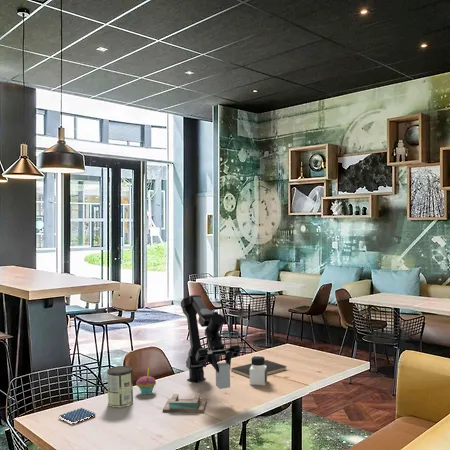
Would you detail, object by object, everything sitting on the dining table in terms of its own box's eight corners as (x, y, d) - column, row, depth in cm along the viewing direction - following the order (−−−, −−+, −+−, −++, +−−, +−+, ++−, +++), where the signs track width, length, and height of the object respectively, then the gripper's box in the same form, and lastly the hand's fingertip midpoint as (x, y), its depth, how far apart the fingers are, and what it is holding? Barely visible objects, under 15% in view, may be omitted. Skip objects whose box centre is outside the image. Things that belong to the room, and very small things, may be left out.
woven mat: (57, 420, 184) (57, 415, 184) (81, 411, 192) (81, 406, 192) (72, 427, 177) (72, 421, 177) (96, 418, 185) (96, 412, 185)
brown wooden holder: (168, 401, 201) (168, 392, 201) (206, 401, 200) (206, 392, 200) (162, 412, 189) (162, 403, 189) (203, 412, 188) (203, 403, 188)
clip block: (215, 385, 199) (215, 363, 199) (226, 384, 200) (225, 362, 200) (219, 389, 195) (219, 366, 195) (230, 387, 196) (229, 365, 196)
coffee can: (116, 397, 206) (115, 364, 206) (137, 400, 203) (137, 366, 203) (102, 406, 197) (102, 371, 197) (124, 409, 193) (124, 373, 193)
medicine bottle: (265, 385, 219) (264, 359, 219) (249, 384, 220) (249, 358, 220) (267, 380, 226) (266, 355, 226) (251, 380, 227) (251, 354, 227)
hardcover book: (286, 370, 242) (286, 366, 242) (251, 380, 229) (251, 375, 229) (265, 363, 255) (265, 359, 255) (231, 372, 242) (231, 367, 242)
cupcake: (160, 392, 212) (159, 365, 212) (144, 397, 206) (144, 369, 206) (148, 388, 218) (147, 361, 218) (132, 393, 212) (132, 365, 212)
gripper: (228, 346, 215) (239, 378, 205) (189, 351, 208) (197, 384, 198) (235, 332, 208) (246, 364, 198) (194, 336, 201) (204, 370, 191)
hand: (223, 371), depth 196 cm, fingers closed on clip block, 4 cm apart
